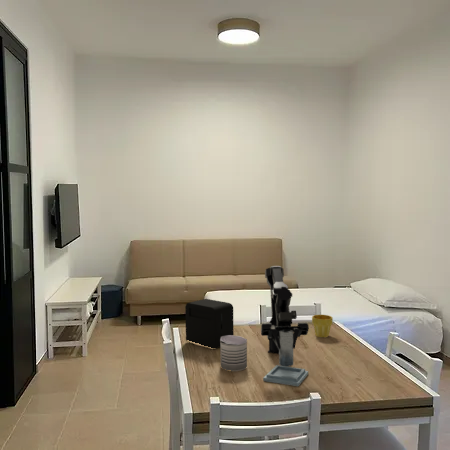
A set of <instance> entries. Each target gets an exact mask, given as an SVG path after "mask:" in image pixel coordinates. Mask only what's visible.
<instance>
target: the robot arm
mask: <svg viewBox="0 0 450 450" xmlns="http://www.w3.org/2000/svg"><path fill="white" fill-rule="evenodd" d="M264 277H265V279H266V283H267V286H269V288H270V290H269V291H270V306H271V307H270V309H271V312H270V313H271V318H270V321H269V322H262V323H261V325H260V326H261V327H260V336H262V337H263V336H264V337H266V338H267V340H268V350H267V353H269V354H276V355H279V349H280V346H279V331H280V330H284V329H287V330H292V331H293V350H294V349H296V343H297V340H298V338H300V337H301V336H307V335H308V333H309V329H310V326H309V324H308V323H307V322H298V323H297V325H293V320H296V319H297V318H298V317H297V316H298V315H297V311H296V310H291V311H290V305H291V300H292V297H293V293H292V292H291V290H290V289H289V287H288V285H287V284H286V283H284V277H285V272H284V268H283V267H282V266H280V265H272V266H270V267H267V268H266V269H265V270H264Z"/></svg>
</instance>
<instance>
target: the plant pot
mask: <svg viewBox="0 0 450 450" xmlns="http://www.w3.org/2000/svg"><path fill="white" fill-rule="evenodd" d="M333 320H334V318H333V316H331V315H328V314H314V315H312V317H311V323H312V325H313V327H314V328H313V329H314V334H315V337H317V338H327V337H329V336H330V331H331V327H332V325H333Z"/></svg>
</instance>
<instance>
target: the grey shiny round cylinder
mask: <svg viewBox="0 0 450 450" xmlns="http://www.w3.org/2000/svg"><path fill="white" fill-rule="evenodd" d="M293 333H294V332H293V331H292V330H287V329H284V330H280V331H279V346H280V349H279V354H278V365H280V366H287V367H292V366H294V348H293Z"/></svg>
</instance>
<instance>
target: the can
mask: <svg viewBox="0 0 450 450" xmlns="http://www.w3.org/2000/svg"><path fill="white" fill-rule="evenodd" d="M219 348H220V368H221V367H222V368H223V369H222V368H221V369H222V370H224V369H226V370H225V371H227V370H231V371H230V372H239V371H243V370H246V369H247V368H248V339H247V338H245V337H243V336H240V335H234V336H233V335H227V336H222V337H221V338H220V347H219ZM246 367H247V368H246Z"/></svg>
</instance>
